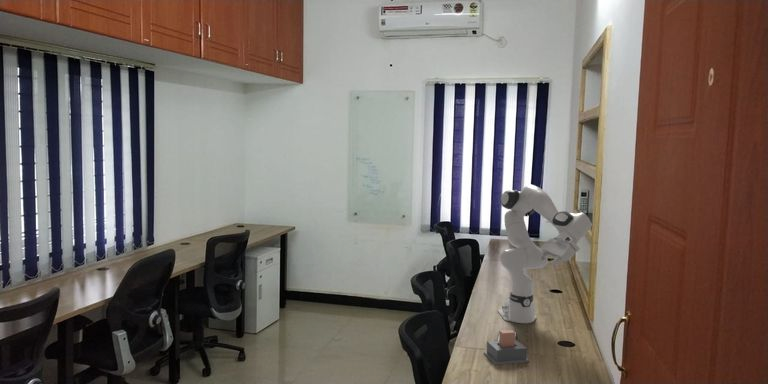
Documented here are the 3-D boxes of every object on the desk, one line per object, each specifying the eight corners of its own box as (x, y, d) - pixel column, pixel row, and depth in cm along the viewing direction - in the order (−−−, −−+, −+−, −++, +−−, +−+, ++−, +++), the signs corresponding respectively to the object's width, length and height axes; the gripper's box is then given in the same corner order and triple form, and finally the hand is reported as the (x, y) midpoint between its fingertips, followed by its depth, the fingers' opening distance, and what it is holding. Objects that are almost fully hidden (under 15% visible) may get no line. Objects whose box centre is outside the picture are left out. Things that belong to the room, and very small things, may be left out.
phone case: (515, 347, 251) (517, 334, 266) (515, 344, 251) (517, 331, 266) (496, 344, 253) (499, 332, 269) (496, 341, 253) (499, 329, 268)
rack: (483, 353, 241) (484, 340, 240) (516, 351, 244) (516, 338, 244) (495, 364, 229) (495, 351, 229) (529, 362, 233) (529, 348, 232)
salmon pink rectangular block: (498, 354, 238) (499, 330, 236) (510, 353, 239) (512, 330, 238) (501, 357, 235) (502, 333, 233) (514, 356, 236) (515, 332, 235)
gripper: (550, 232, 263) (531, 252, 261) (573, 240, 243) (553, 262, 242) (557, 241, 264) (538, 261, 263) (581, 250, 244) (561, 271, 243)
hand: (546, 261), depth 252 cm, fingers open, 8 cm apart
